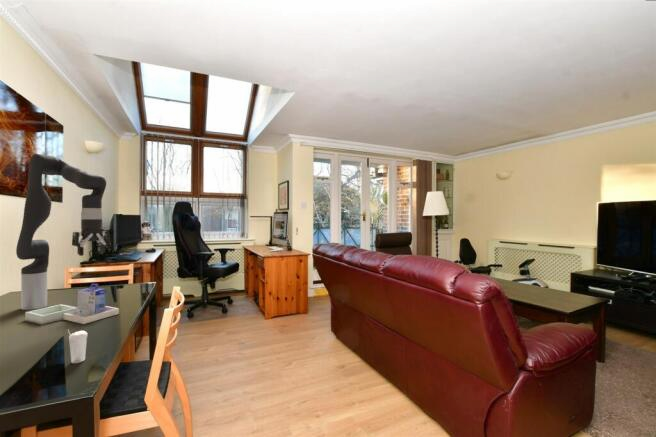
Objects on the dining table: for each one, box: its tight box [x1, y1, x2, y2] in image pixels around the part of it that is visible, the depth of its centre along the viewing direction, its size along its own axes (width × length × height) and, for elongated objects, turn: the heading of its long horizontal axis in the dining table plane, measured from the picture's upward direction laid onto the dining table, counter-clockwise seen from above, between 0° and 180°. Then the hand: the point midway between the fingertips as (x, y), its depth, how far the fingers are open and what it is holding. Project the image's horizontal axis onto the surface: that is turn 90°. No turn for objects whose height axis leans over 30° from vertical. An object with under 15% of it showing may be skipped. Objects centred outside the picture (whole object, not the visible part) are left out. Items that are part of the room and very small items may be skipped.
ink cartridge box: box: [77, 283, 107, 317], centre depth 137 cm, size 10×6×14 cm, turn 78°
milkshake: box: [67, 328, 88, 364], centre depth 95 cm, size 4×5×10 cm
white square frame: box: [62, 305, 120, 325], centre depth 137 cm, size 15×15×2 cm
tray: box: [24, 304, 78, 325], centre depth 135 cm, size 13×13×4 cm
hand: (91, 254), depth 137 cm, fingers open, 8 cm apart
